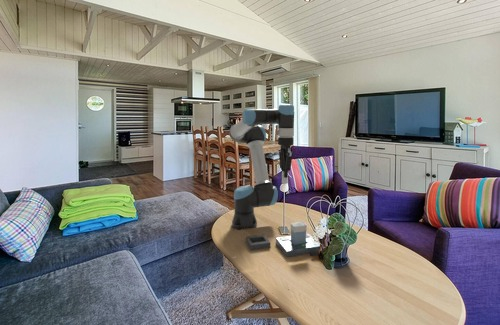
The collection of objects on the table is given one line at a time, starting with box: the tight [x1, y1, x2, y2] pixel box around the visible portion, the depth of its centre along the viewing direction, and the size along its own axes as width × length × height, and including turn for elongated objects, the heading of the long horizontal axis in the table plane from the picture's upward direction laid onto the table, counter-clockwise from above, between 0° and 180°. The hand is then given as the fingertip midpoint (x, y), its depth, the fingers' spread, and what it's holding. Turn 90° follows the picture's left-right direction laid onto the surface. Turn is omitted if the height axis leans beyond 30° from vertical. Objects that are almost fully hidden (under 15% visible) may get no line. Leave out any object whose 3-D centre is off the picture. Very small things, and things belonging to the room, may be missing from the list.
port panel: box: [275, 233, 321, 258], centre depth 126 cm, size 14×18×5 cm
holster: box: [245, 233, 271, 251], centre depth 130 cm, size 10×10×4 cm
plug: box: [290, 221, 308, 245], centre depth 125 cm, size 4×6×12 cm
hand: (284, 183), depth 131 cm, fingers closed
